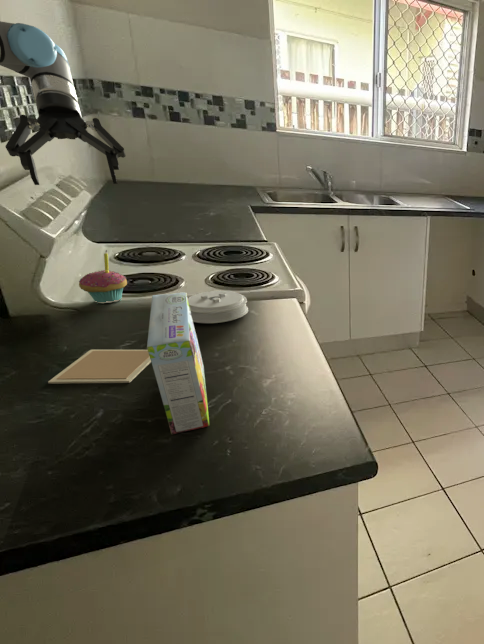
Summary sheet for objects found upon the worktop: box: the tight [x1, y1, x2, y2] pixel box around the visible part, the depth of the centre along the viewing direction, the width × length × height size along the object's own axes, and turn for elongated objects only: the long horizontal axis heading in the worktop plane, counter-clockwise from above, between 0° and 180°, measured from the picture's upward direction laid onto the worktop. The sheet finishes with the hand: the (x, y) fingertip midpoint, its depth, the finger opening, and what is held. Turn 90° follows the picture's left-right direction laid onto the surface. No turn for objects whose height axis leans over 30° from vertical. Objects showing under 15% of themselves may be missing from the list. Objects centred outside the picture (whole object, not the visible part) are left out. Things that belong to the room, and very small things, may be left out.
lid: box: [187, 289, 249, 324], centre depth 108 cm, size 13×13×5 cm
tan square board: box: [47, 349, 152, 385], centre depth 86 cm, size 12×12×1 cm
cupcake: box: [78, 249, 128, 302], centre depth 108 cm, size 9×8×12 cm
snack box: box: [146, 291, 210, 435], centre depth 76 cm, size 21×6×15 cm, turn 33°
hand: (76, 180), depth 107 cm, fingers open, 13 cm apart
